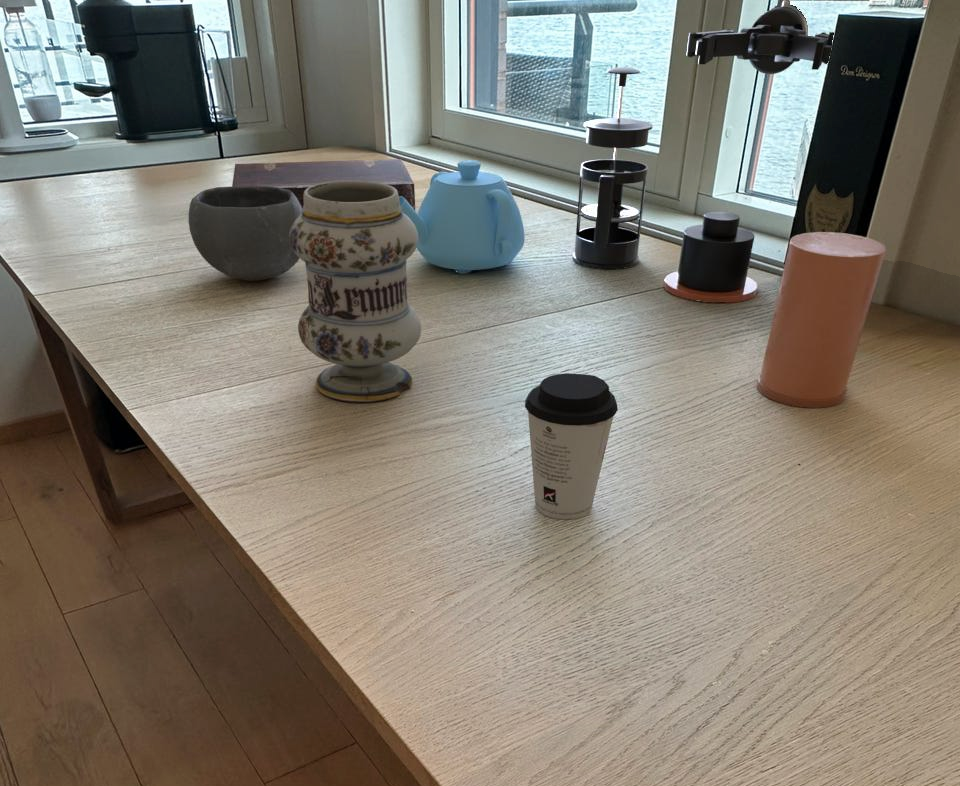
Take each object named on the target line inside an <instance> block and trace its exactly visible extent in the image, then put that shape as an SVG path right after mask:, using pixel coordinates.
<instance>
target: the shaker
mask: <svg viewBox="0 0 960 786" xmlns="http://www.w3.org/2000/svg"><path fill="white" fill-rule="evenodd" d="M886 251H887V247H886V246H885V245H884V244H883V243H882V242H880V241H878V240H875V239H872V238H870V237H866V236H863V235H858V234H851V233H843V232H833V231H813V232H804V233H800V234H796V235H793V236H792V237H791V238H790V239H789V244H788V248H787V252H786V257H785V262H784V266H783V269H782V270H783V272H782V275H781V280H780V284H779V289H778V293H777V297H776V303H775V307H774V312H773V315H772V316H773V317H772V320H771V325H770V329H769V334H768V338H767V343H766V348H765V353H764V357H763V362H762V366H761V371H760V374H759V376H758V377H757V380H756V381H757V382H756V388H757V390H758V391H759V393H760V394H761V395H763V396H764V397H766V398H768V399H770V400H772V401H774V402H776V403H780V404H783V405H787V406H791V407H797V408H807V409H818V408H820V409H821V408H829V407H832V406H835V405H838V404H840V403H842V402H843V401H844V400H845V398H846V395H847V391H848V383H849V379H850V376H851V372H852V369H853V365H854V362H855V359H856V355H857V352H858V349H859V345H860V341H861V339H862V338H861V337H862V335H863V331H864V327H865V325H866V322H867V321H866V320H867V317H868V314H869V311H870V308H871V307H870V306H871V303H872V300H873V297H874V294H875V290H876V287H877V282H878V279H879V275H880V272H881V268H882V265H883V263H884V258H885V255H886Z"/></svg>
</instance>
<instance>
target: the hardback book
mask: <svg viewBox="0 0 960 786" xmlns="http://www.w3.org/2000/svg"><path fill="white" fill-rule="evenodd" d="M340 180H354V181H369V182H377V183H383V184H386V185H389V186H392V187H394V188H395V189H396V190H397V192H398V195H399V196H403V197H404V198H405V199H406V201H407V202H408V203H409V204H410V205H411V206H412V208H413V209H414V210H415V211H416V193H415V183H414V181H413V179H412V177H411V175H410V172H409V171H408V169H407V168H406V165H405V163H404V162H403V160H402V158H396V159H393V158H391V159H360V160H358V159H357V160H324V161H289V162H287V161H285V162H252V163H234V169H233V176H232V184H231V186H270V187H278V188H282V189H287V190H290V191H291V192H292V193H293V194H294V195H295V196H296V198H297V200H298V201H299V203H300V205H301V207H302V210H303V206H304V198H303V196H304V191H305V190H306V189H307V188H308V187H311V186H313V185H316V184H320V183H325V182H331V181H340Z"/></svg>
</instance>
